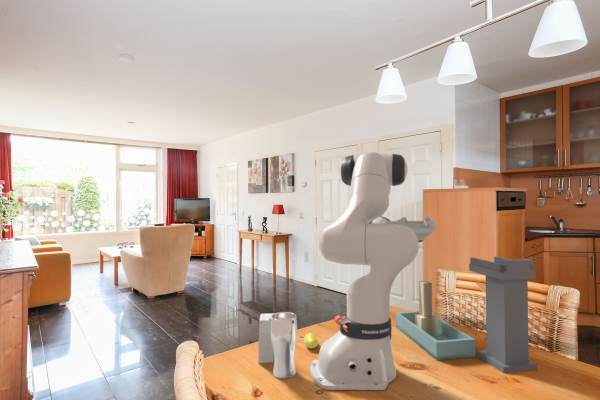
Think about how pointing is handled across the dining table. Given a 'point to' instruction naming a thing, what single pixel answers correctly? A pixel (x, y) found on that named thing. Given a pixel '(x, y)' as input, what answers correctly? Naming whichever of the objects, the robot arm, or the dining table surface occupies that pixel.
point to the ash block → (426, 310)
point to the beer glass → (284, 343)
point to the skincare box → (265, 339)
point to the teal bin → (437, 338)
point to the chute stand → (506, 312)
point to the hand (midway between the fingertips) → (417, 218)
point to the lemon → (310, 340)
